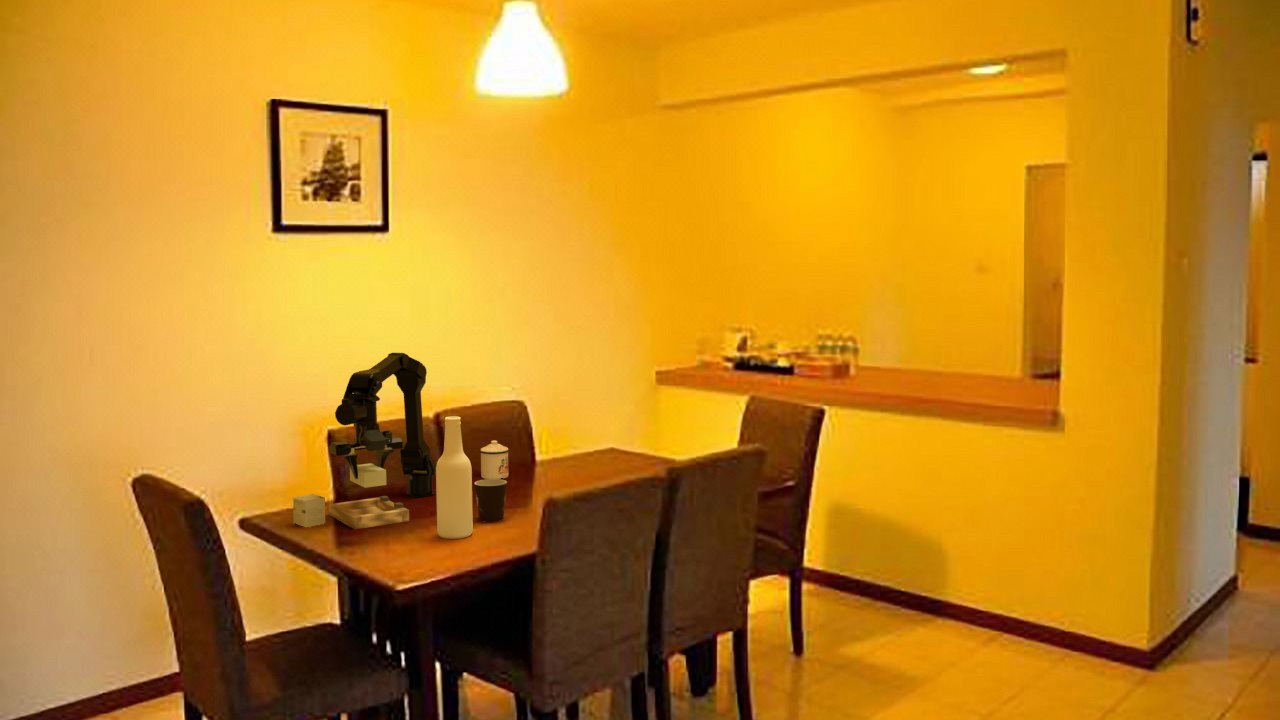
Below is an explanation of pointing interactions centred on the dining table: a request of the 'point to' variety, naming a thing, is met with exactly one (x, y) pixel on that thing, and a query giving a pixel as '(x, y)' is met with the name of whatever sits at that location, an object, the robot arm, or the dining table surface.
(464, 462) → the alcohol
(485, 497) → the coffee mug
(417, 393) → the robot arm
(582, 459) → the dining table surface
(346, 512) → the carcass
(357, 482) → the cream rectangular block
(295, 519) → the skincare box
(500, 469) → the teacup with lid
